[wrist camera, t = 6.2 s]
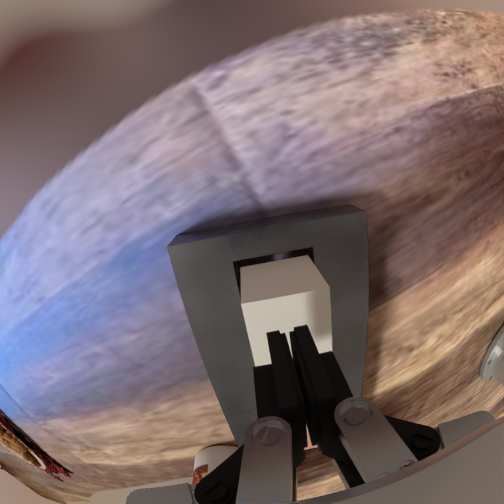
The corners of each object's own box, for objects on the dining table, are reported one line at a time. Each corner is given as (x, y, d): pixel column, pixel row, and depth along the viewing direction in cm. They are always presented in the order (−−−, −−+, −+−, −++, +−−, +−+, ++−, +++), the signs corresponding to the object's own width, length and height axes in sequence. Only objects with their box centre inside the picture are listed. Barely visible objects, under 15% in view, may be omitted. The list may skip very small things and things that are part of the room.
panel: (350, 204, 18) (366, 211, 16) (349, 411, 25) (356, 428, 23) (176, 235, 18) (166, 246, 16) (240, 432, 25) (240, 450, 23)
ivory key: (307, 255, 16) (329, 287, 12) (313, 312, 17) (332, 354, 13) (240, 267, 16) (241, 303, 12) (252, 323, 18) (255, 369, 13)
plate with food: (-17, 384, 25) (-26, 394, 22) (72, 473, 32) (68, 484, 29) (-37, 392, 28) (-43, 400, 25) (30, 463, 35) (26, 472, 32)
